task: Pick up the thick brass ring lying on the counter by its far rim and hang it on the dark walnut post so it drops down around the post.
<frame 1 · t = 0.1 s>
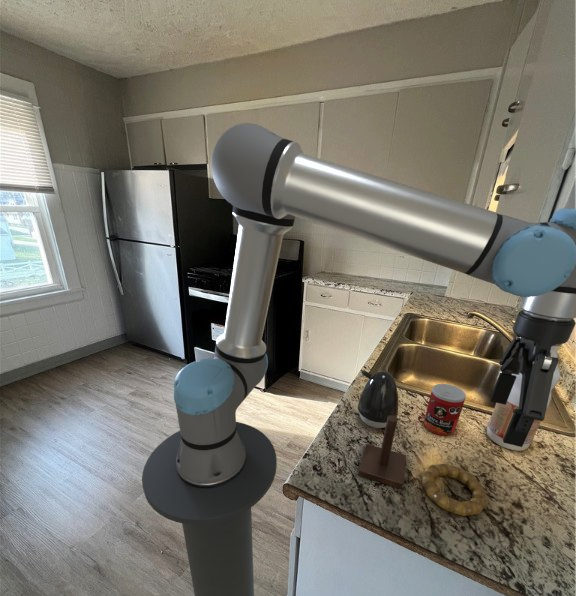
hand: (504, 421, 59), 16 cm above the counter, tool pointing down, fingers open, 13 cm apart
fruit juice: (506, 439, 80), on the counter
canned food: (438, 427, 83), on the counter
post: (382, 467, 70), on the counter
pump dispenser: (374, 422, 84), on the counter
ring: (453, 487, 64), point 1 cm above the counter
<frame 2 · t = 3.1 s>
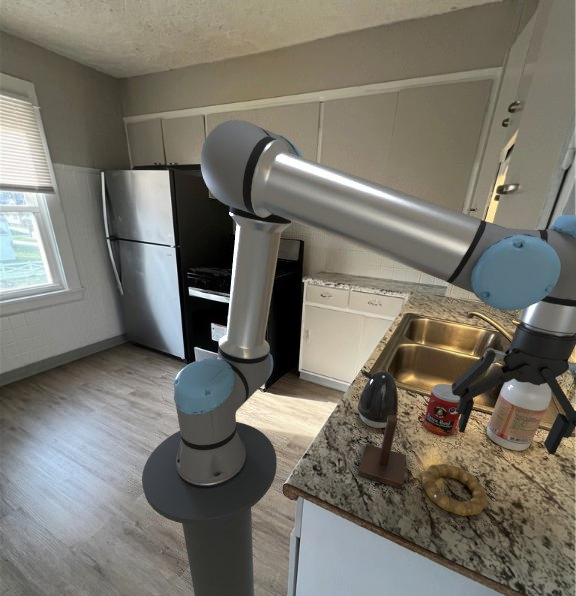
hand: (503, 438, 56), 16 cm above the counter, tool pointing down, fingers open, 13 cm apart
nothing on the counter moved.
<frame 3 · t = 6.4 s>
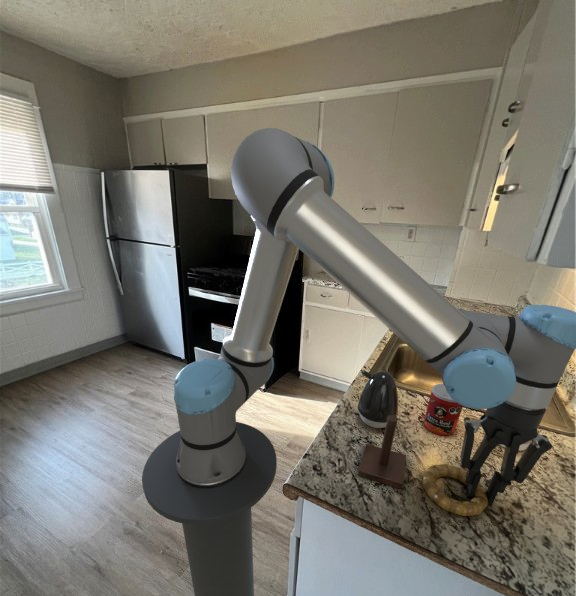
hand: (478, 497, 62), 1 cm above the counter, tool pointing down, fingers closed on ring, 3 cm apart
ring: (453, 488, 64), point 1 cm above the counter, touching gripper
everything else where it was.
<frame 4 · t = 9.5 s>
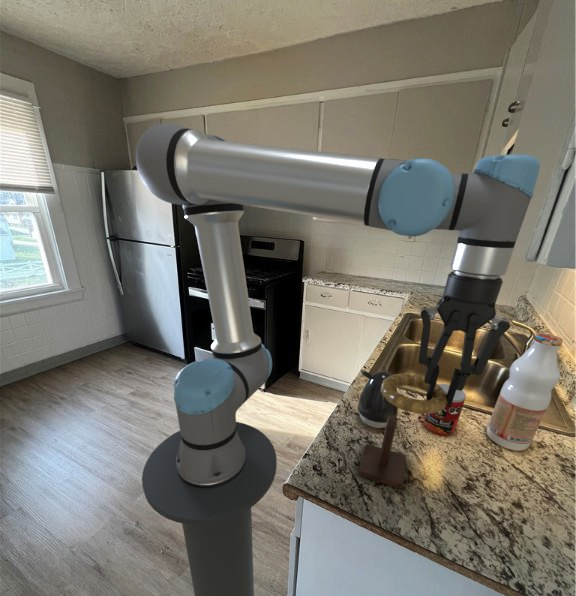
hand: (438, 400, 58), 20 cm above the counter, tool pointing down, fingers closed on ring, 3 cm apart
ring: (413, 392, 60), point 21 cm above the counter, touching gripper
everything else where it was.
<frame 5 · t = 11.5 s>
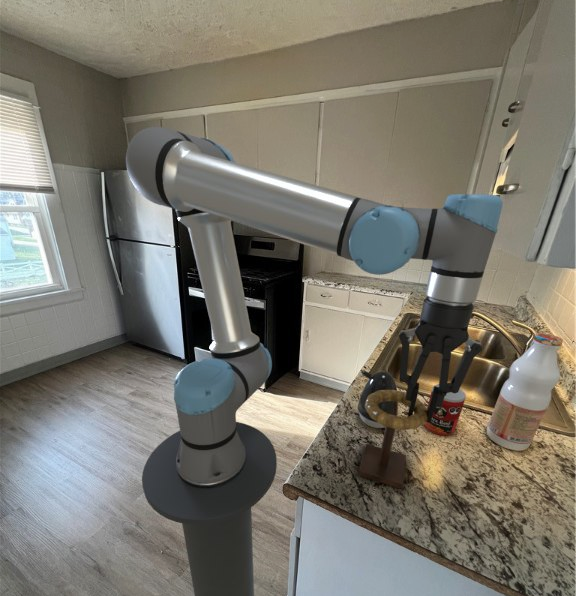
hand: (419, 416, 61), 16 cm above the counter, tool pointing down, fingers closed on ring, 3 cm apart
ring: (395, 408, 63), point 16 cm above the counter, touching gripper
everything else where it was.
when the fingers open (12 cm above the counter, at t = 13.1 s): ring drops 9 cm, resting on post.
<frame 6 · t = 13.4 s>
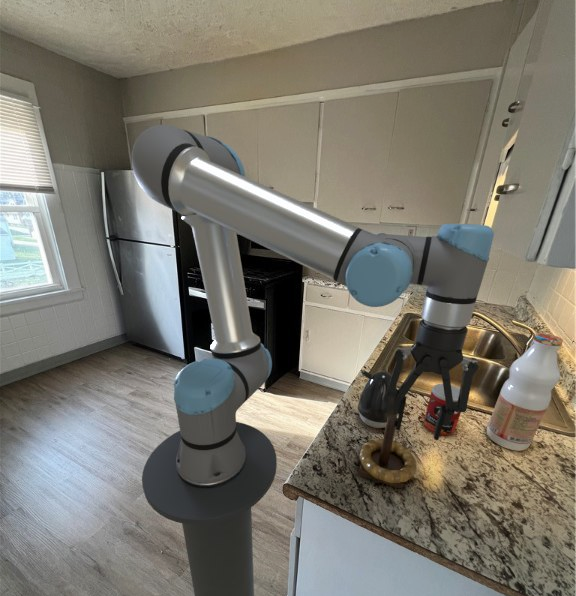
hand: (416, 430, 63), 12 cm above the counter, tool pointing down, fingers open, 6 cm apart
ring: (387, 459, 68), point 3 cm above the counter, touching post
everything else where it was.
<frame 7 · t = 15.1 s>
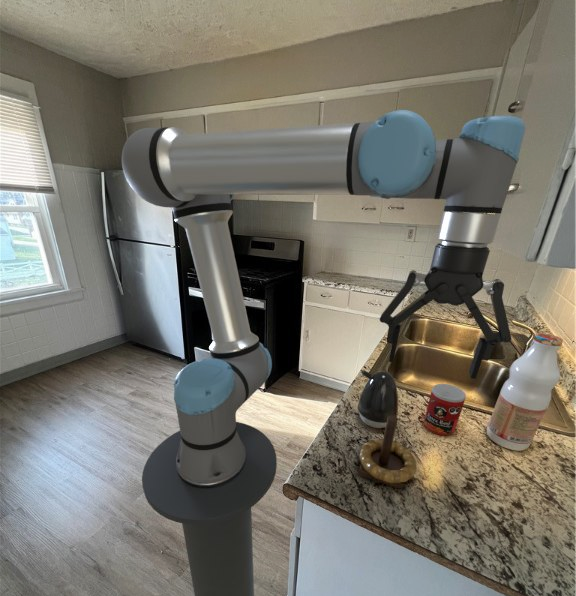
hand: (430, 367, 57), 26 cm above the counter, tool pointing down, fingers open, 13 cm apart
nothing on the counter moved.
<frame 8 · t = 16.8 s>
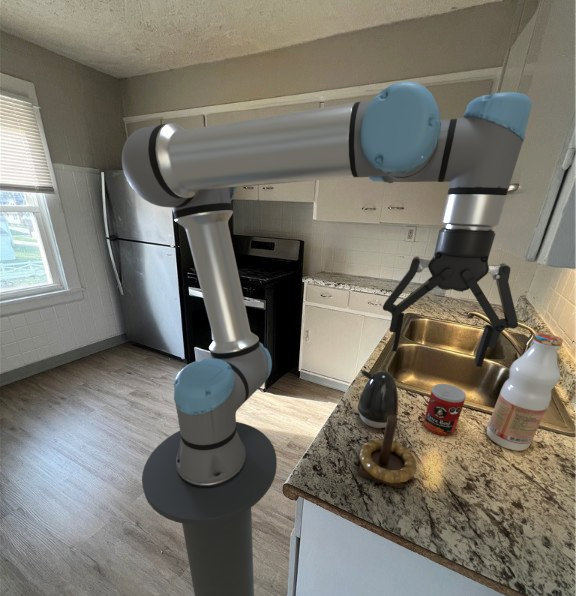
hand: (434, 355, 56), 29 cm above the counter, tool pointing down, fingers open, 13 cm apart
nothing on the counter moved.
at the end: ring 0.7 cm from the post (horizontally); ring point 2.7 cm above the counter; the gripper is holding nothing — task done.
